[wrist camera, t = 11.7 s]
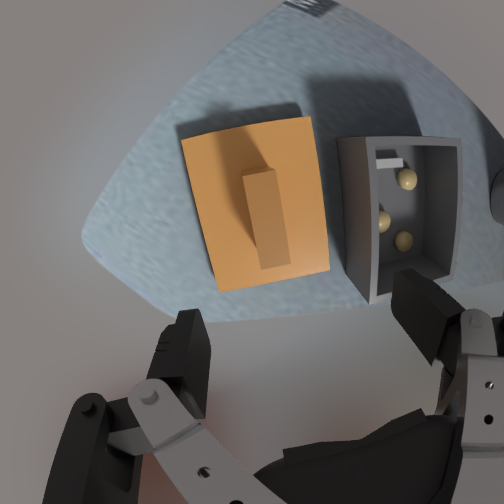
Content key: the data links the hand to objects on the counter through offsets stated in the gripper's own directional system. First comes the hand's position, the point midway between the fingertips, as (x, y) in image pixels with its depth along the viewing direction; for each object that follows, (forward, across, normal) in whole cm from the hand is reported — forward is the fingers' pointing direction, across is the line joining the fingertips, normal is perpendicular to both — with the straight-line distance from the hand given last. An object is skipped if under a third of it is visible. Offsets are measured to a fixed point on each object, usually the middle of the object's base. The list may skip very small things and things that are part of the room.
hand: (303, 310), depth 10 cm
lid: (+19, 0, 0) cm, 19 cm away
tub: (+19, -15, +2) cm, 24 cm away
